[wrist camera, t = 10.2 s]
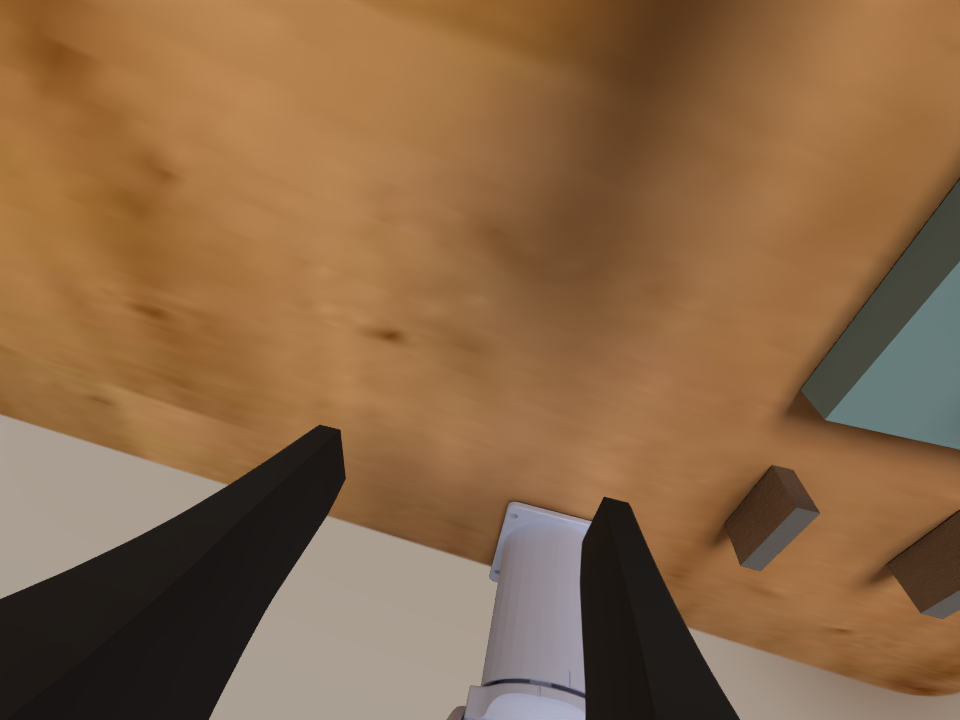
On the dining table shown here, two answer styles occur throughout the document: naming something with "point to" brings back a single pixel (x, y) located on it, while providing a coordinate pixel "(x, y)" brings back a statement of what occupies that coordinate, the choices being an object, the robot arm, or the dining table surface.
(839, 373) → the socket board
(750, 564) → the metal stand
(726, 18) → the dining table surface
